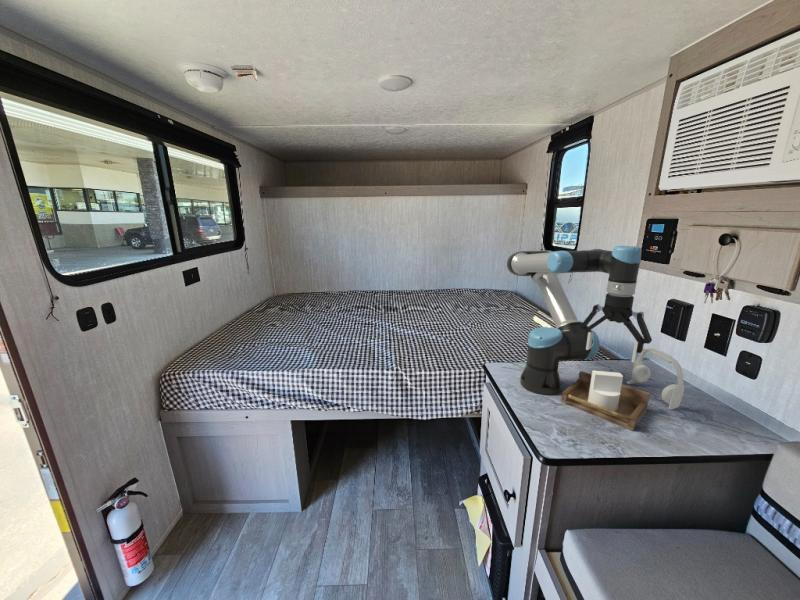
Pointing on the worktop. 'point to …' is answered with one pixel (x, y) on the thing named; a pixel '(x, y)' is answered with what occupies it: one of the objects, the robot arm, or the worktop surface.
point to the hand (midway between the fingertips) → (610, 354)
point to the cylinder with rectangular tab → (605, 389)
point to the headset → (642, 374)
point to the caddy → (625, 416)
